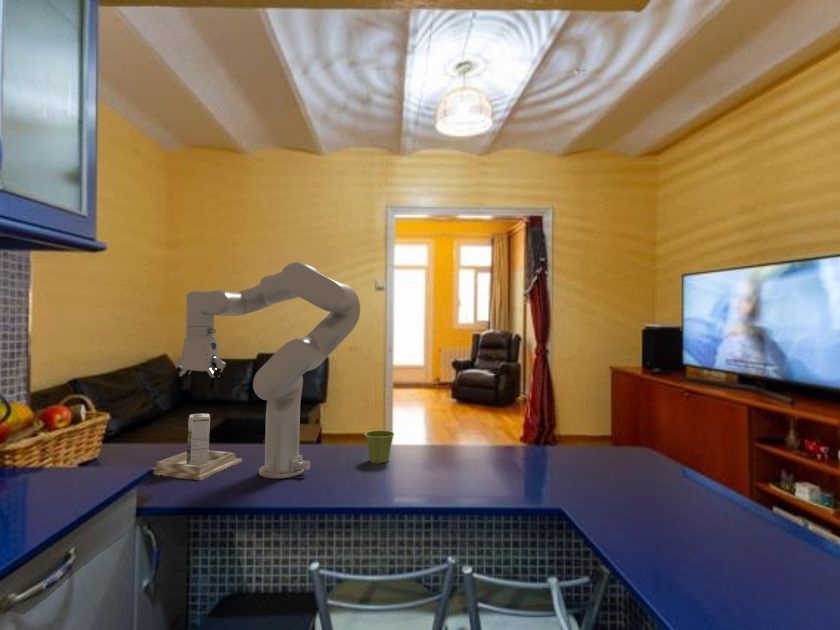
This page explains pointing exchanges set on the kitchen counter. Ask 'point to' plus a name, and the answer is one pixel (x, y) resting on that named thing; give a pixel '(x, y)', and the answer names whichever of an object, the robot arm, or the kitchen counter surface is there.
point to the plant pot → (379, 445)
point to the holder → (180, 469)
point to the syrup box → (198, 439)
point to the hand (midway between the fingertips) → (199, 390)
